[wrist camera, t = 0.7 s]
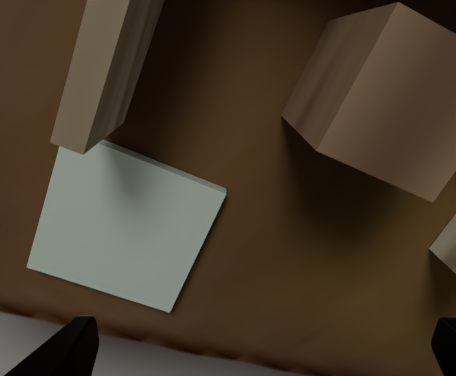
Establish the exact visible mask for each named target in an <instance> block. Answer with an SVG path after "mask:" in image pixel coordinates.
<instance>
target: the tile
mask: <svg viewBox="0 0 456 376" xmlns="http://www.w3.org/2000/svg"><path fill="white" fill-rule="evenodd" d="M225 196H226V188H224V187H221V186H219V185H216V184H214V183H211V182H209V181H206V180H204V179H201V178H199V177H196V176H194V175H191V174H189V173H186V172H184V171H181V170H179V169H176V168H174V167H171V166H169V165H166V164H164V163H161V162H159V161H156V160H153V159H151V158H148V157H146V156H143V155H141V154H138V153H136V152H133V151H131V150H128V149H126V148H123V147H121V146H118V145H116V144H113V143H111V142H108V141H106V140H101V141H100V142H99V143H98V144H96V145H95V146H94V147H93V148H91V149H90V150H89V151H88V152H86V153H85V154H84V155H81V154H79V153H76V152H74V151H71V150H69V149H66V148H63V147H61V146H60V147H59V151H58V154H57V158H56V162H55V165H54V169H53V173H52V176H51V180H50V184H49V187H48V191H47V195H46V198H45V202H44V206H43V209H42V213H41V217H40V220H39V224H38V228H37V231H36V235H35V238H34V242H33V246H32V249H31V253H30V257H29V260H28V264H27V268H30V269H33V270H37V271H40V272H43V273H46V274H49V275H52V276H56V277H59V278H62V279H65V280H68V281H71V282H74V283H78V284H81V285H84V286H87V287H90V288H93V289H96V290H100V291H103V292H106V293H109V294H112V295H115V296H118V297H122V298H125V299H128V300H131V301H134V302H137V303H141V304H144V305H147V306H150V307H153V308H156V309H159V310H163V311H166V312H169V313H170V311H171V309H172V307H173V305H174V303H175V301H176V299H177V296H178V294H179V292H180V290H181V288H182V286H183V284H184V282H185V280H186V278H187V275H188V273H189V271H190V269H191V267H192V265H193V263H194V261H195V259H196V257H197V255H198V252H199V250H200V248H201V246H202V244H203V242H204V240H205V238H206V236H207V234H208V232H209V229H210V227H211V225H212V223H213V221H214V219H215V217H216V215H217V213H218V211H219V209H220V206H221V204H222V202H223V200H224V198H225Z"/></svg>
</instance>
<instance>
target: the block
mask: <svg viewBox="0 0 456 376" xmlns="http://www.w3.org/2000/svg"><path fill="white" fill-rule="evenodd" d="M281 116H282V117H283V118H284V119H285V120H286V121H287V122H288V123H289V124H290V125H291V126H292V127H293V128H294V129H295V130H296V131H297V132H298V133H299V134H300V135H301V136H302V137H303V138H304V139H305V140H306V141H307V142H308V143H309V144H310V145H311V146H312V147H313V148H314V149H315V150H316V151H317V152H320V153H322V154H324V155H326V156H329V157H331V158H333V159H336V160H338V161H340V162H342V163H345V164H347V165H349V166H351V167H354V168H356V169H358V170H360V171H363V172H365V173H367V174H369V175H372V176H374V177H376V178H378V179H381V180H383V181H385V182H387V183H390V184H392V185H394V186H396V187H399V188H401V189H403V190H405V191H408V192H410V193H412V194H414V195H417V196H419V197H421V198H423V199H426V200H428V201H430V202H432V203H433V202H434V200H435V199H436V198H437V196H438V195H439V193H440V192H441V191H442V189H443V188H444V186H445V185H446V184H447V182H448V181H449V179H450V178H451V177H452V175H453V174H454V172H455V171H456V34H455V33H453V32H451V31H449V30H448V29H446V28H444V27H442V26H441V25H439V24H437V23H435V22H433V21H432V20H430V19H428V18H426V17H425V16H423V15H421V14H419V13H417V12H416V11H414V10H412V9H410V8H408V7H407V6H405V5H403V4H401V3H400V2H396V3H393V4H389V5H385V6H381V7H377V8H373V9H370V10H366V11H362V12H358V13H354V14H351V15H347V16H343V17H339V18H335V19H332V20H328V21H327V23H326V25H325V27H324V29H323V31H322V33H321V35H320V37H319V39H318V42H317V44H316V46H315V48H314V50H313V52H312V54H311V56H310V58H309V60H308V62H307V64H306V66H305V68H304V70H303V72H302V74H301V76H300V78H299V80H298V82H297V84H296V86H295V88H294V90H293V92H292V94H291V96H290V98H289V100H288V102H287V104H286V106H285V108H284V110H283V112H282V114H281Z"/></svg>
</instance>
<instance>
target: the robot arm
mask: <svg viewBox="0 0 456 376" xmlns="http://www.w3.org/2000/svg"><path fill="white" fill-rule="evenodd" d="M431 346H432V350H433V353H434V355H435V357H436V359H437V362H438V364H439V366H440V368H441V370H442V373H443V375H444V376H456V318H447V317H443V318H440V319H439V320H438V322H437V325H436V328H435V331H434V334H433V337H432V340H431ZM98 347H99V336H98V329H97V322H96V318H95V316H93V315H79V316H77V317H75V318H74V319H73V320H72V321H70V322H69V323H68V324H67V325H66V326H64V327H63V328H62V329H61V330H59V331H58V332H57V333H56V334H55V335H53V336H52V337H51V338H50V339H48V340H47V341H46V342H45V343H44V344H42V345H41V346H40V347H39V348H37V349H36V350H35V351H34V352H32V353H31V354H30V355H29V356H28V357H26V358H25V359H24V360H23V361H21V362H20V363H19V364H18V365H17V366H15V367H14V368H13V369H12V370H10V371H9V372H8V373H7V374H5V375H4V376H91V375H92V370H93V367H94V363H95V360H96V356H97V352H98Z"/></svg>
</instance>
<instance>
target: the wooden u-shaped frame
mask: <svg viewBox="0 0 456 376" xmlns="http://www.w3.org/2000/svg"><path fill="white" fill-rule="evenodd" d="M164 1H165V0H87V4H86V8H85V11H84V15H83V19H82V23H81V27H80V31H79V34H78V38H77V42H76V46H75V50H74V53H73V57H72V61H71V65H70V69H69V72H68V76H67V80H66V84H65V88H64V92H63V95H62V99H61V103H60V107H59V111H58V114H57V118H56V122H55V126H54V130H53V134H52V137H51V141H50V143H53V144H56V145H58V146H61V147H63V148H66V149H69V150H71V151H74V152H76V153H79V154H81V155H84V154H85V153H86V152H88V151H89V150H90V149H91V148H93V147H94V146H95V145H96V144H98V143H99V142H100V141H101V140H103V139H104V138H105V137H106V136H108V135H109V134H110V133H111V132H113V131H114V130H115V129H117V128H118V127H119V126H120V125H122V124H123V123H124V120H125V117H126V114H127V111H128V108H129V105H130V102H131V99H132V96H133V93H134V90H135V88H136V85H137V82H138V79H139V76H140V73H141V70H142V67H143V64H144V61H145V58H146V55H147V52H148V49H149V46H150V43H151V40H152V37H153V34H154V31H155V28H156V25H157V22H158V19H159V16H160V13H161V10H162V7H163V4H164ZM429 249H430V250H431V251H432V252H433V253H434V254H435V255H436V256H437V257H438V258H439V259H440V260H442V261H443V262H444V263H445V264H446V265H447V266H448V267H449V268H450V269H451V270H452V271H453V272H454V273H455V274H456V214H455V215H454V216H453V218H452V219H451V220H450V221H449V223H448V224H447V225H446V227H445V228H444V229H443V231H442V232H441V233H440V235H439V236H438V237H437V239H436V240H435V241H434V243H433V244H432V245H431V247H430V248H429Z"/></svg>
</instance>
